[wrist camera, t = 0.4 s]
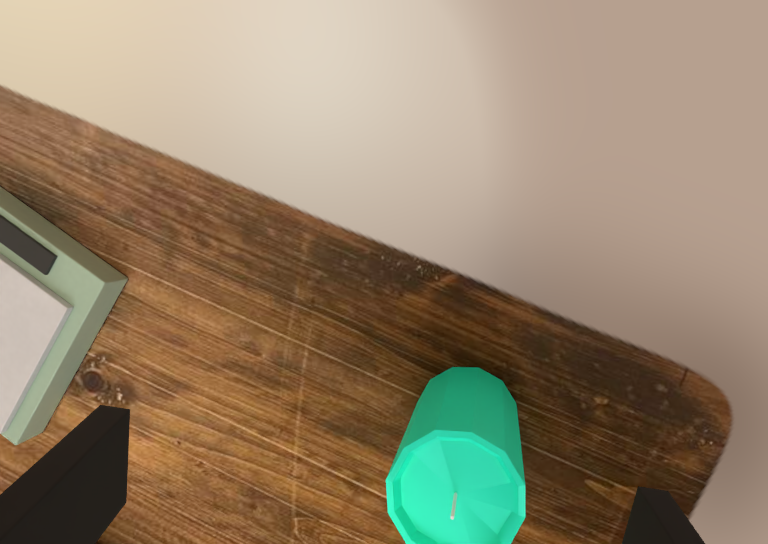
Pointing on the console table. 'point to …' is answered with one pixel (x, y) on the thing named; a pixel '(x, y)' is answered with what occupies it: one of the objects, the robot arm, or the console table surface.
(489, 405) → the candle
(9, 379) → the scale
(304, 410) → the console table surface
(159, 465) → the console table surface
